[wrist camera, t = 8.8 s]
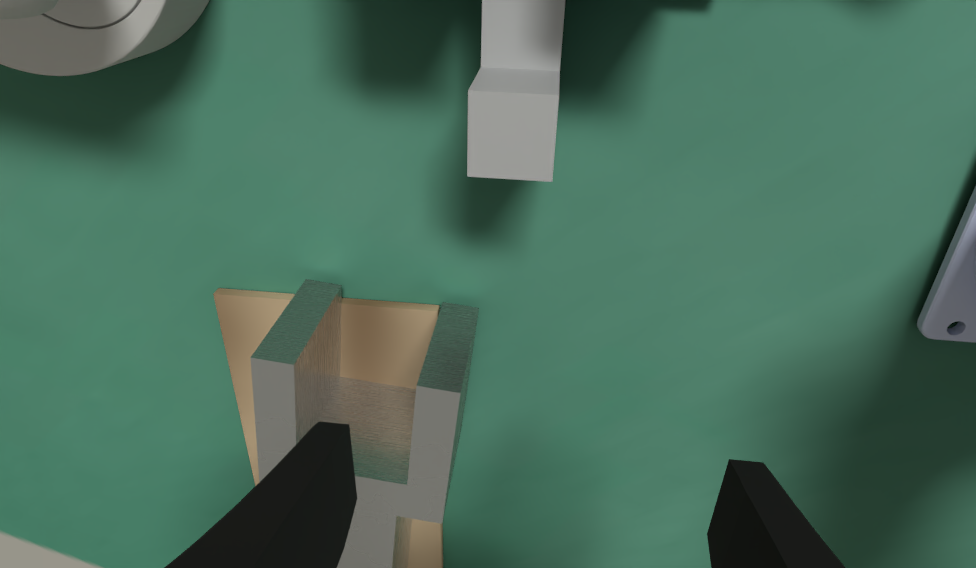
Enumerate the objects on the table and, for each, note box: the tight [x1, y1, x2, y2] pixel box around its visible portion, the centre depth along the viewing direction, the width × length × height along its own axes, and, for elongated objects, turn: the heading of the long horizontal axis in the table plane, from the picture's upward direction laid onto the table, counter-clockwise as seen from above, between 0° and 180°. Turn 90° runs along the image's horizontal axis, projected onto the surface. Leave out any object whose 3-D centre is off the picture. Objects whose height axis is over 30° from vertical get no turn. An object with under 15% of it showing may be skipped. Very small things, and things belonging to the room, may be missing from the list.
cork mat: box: [214, 288, 443, 568], centre depth 27 cm, size 8×17×1 cm, turn 179°
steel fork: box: [250, 279, 479, 568], centre depth 24 cm, size 6×14×4 cm, turn 173°
